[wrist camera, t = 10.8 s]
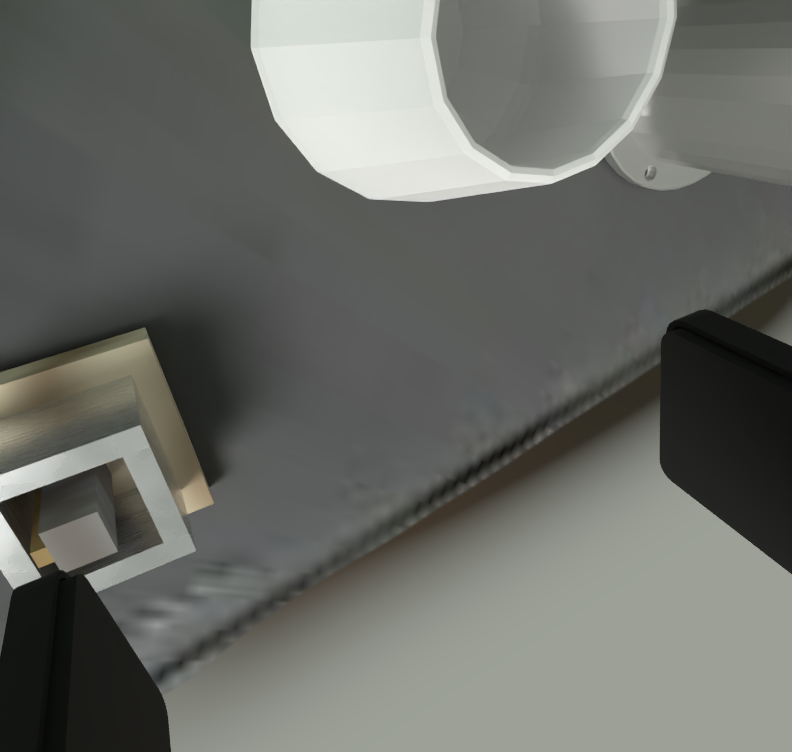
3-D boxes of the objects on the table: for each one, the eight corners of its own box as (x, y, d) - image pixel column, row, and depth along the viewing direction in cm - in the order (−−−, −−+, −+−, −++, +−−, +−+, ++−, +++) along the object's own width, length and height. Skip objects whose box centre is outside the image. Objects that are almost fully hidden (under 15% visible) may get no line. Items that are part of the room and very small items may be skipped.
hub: (131, 374, 30) (140, 425, 26) (181, 489, 34) (196, 550, 29) (-33, 428, 28) (-51, 493, 24) (38, 545, 32) (33, 618, 28)
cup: (538, -62, 31) (808, -131, 20) (450, 214, 35) (631, 292, 24) (267, -218, 25) (434, -455, 13) (198, 144, 29) (280, 204, 17)
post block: (145, 327, 31) (162, 394, 25) (209, 488, 36) (236, 577, 30) (-89, 399, 28) (-135, 496, 22) (16, 563, 33) (3, 679, 27)
